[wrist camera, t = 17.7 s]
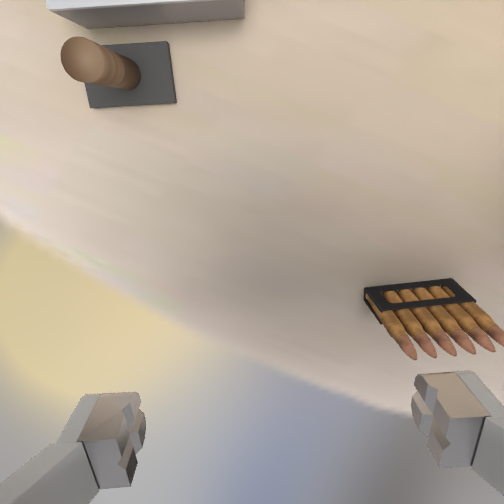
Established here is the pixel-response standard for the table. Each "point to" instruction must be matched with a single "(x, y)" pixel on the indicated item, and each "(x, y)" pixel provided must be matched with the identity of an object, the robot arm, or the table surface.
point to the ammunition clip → (432, 316)
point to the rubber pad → (151, 83)
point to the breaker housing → (144, 11)
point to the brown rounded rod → (98, 64)
